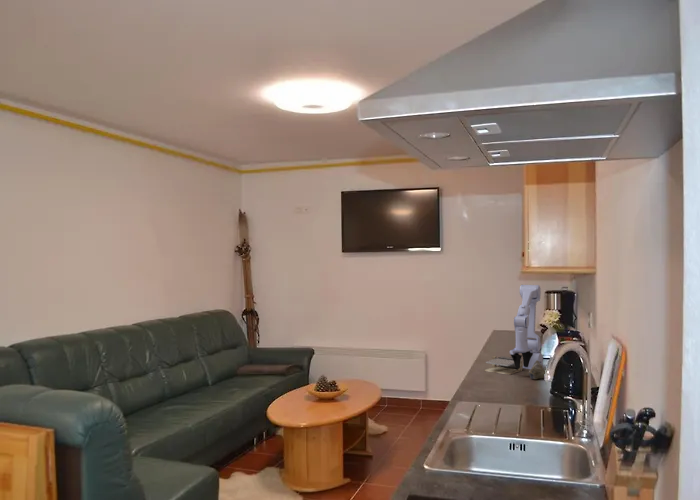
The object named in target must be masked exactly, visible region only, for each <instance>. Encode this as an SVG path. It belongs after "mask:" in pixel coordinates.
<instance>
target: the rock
mask: <svg viewBox="0 0 700 500" xmlns="http://www.w3.org/2000/svg"><path fill="white" fill-rule="evenodd" d="M528 370H529V371H528V376H529V377H530V379H531V380H539V379H545V378H544V374H545V371H546V369H544V366H543V367H542V365H541V364H540V362H539V361H537V360H536V362H535V363H534V365H533V367H532V368H531V369H528Z"/></svg>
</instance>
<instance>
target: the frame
mask: <svg viewBox="0 0 700 500" xmlns="http://www.w3.org/2000/svg"><path fill="white" fill-rule="evenodd" d="M495 358H497V356H495V355H492V356H491V360H492V359H495ZM523 369H524V368H523V359H522V360H521V361H520V369H518V368H511V367H504V366H498V365H496V364H491V367H490V368H486V369H485V370H484V369H483V370H484V372H489V373H496V374H503V375H510V376H511V375H513V374H514V375H515V374H516V373H518V372H523Z"/></svg>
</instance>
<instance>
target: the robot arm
mask: <svg viewBox="0 0 700 500" xmlns="http://www.w3.org/2000/svg"><path fill="white" fill-rule="evenodd" d="M541 290H542V289H541V286H540V285H539V284H521V285H520V286H519V295H520V297H521V300H522V301H521V304H520V305H519V306H518V309H517V313H516V316H514V318H513V326H514V331H515V347H514V348H512V349H511V350H509V355H510V357H512V358H513V361H514V364H515V367H516V368H515V369H520V361H521V359H522V365H523V369H525V370H526V369H527V370H530V369H531V368H532V367H533V365H534V363H535V362H536V360H537V361H539V362H540V364H541V365H542V367H543V368H544V361H543V360H544V356H543V353H542V352H540V351H541V349H542V347H541V346H542V344H541V337H540V336H539V334H537V333H536V320H537V317H536V316H537V315H536V312H537V303H538V302H540V301H541V294H542V291H541Z"/></svg>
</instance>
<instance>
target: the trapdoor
mask: <svg viewBox="0 0 700 500" xmlns="http://www.w3.org/2000/svg"><path fill="white" fill-rule="evenodd" d="M521 360H522V361H523V358H521ZM485 364H490V365H492V364H496V366H498V367H504V368H511V369H517V368H516V367H515V364H514V361H513V358H512V357H511V356H510V357H509V356H505V355H504V356H503V355H501V356H499V357H496V358H495V359H492V358H491V359H490V360H488V361H485Z"/></svg>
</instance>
